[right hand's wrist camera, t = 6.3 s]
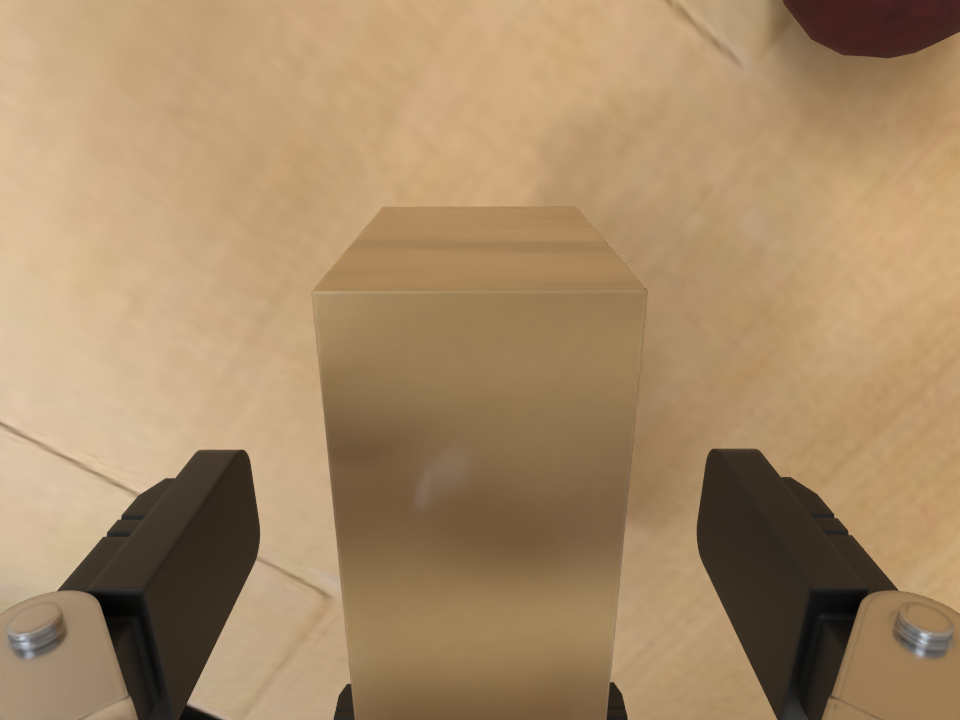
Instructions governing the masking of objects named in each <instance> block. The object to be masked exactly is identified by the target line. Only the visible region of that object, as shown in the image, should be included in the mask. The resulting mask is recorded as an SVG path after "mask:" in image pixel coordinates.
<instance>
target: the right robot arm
mask: <svg viewBox="0 0 960 720" xmlns="http://www.w3.org/2000/svg"><path fill="white" fill-rule="evenodd" d="M259 542H260V525H259V518H258V511H257V504H256V497H255V491H254V484H253V477H252V470H251V464H250V459H249V456H248V454H247V453H246V451H244V450H199V451H197V452H196V453H195V454H194V456H193V457H192V458H191V459H190V461H189V462H188V463H187V464H186V466H185V467H184V468H183V469H182V471H181V472H180V473H179V474H178V476H177V477H176V478H166V479H164V480H162V481H161V482H159V483H158V484H156V485H155V486H153V487H151V488H150V489H148V490H147V491H145V492H144V493H142V494H140V495H139V496H138V497H137V498H136V499H135V501H134V502H133V503H132V504H131V505H130V506H129V508H128V509H127V510H126V511H125V512H124V513H123V515H122V518H121V520H117V522H116V523H115V524H114V525H113V526H112V527H111V529H110V530H109V531H108V532H107V537H103V538H102V539H101V540H100V541H99V543H98V544H97V545H96V546H95V547H94V548H93V550H92V551H91V552H90V553H89V554H88V556H87V557H86V558H85V559H84V560H83V561H82V563H81V564H80V565H79V566H78V567H77V568H76V570H75V571H74V572H73V573H72V574H71V575H70V577H69V578H68V579H67V580H66V581H65V582H64V584H63V585H62V586H61V587H60V588H59V589H58V591H57V592H51V593H47V594H42V595H39V596H36V597H33V598H30V599H28V600H25V601H23V602H20V603H18V604H16V605H14V606H12V607H11V608H9V609H7V610H6V611H4V612H2V613H1V614H0V720H179V718H180V716H181V714H182V712H183V710H184V708H185V706H186V704H187V702H188V700H189V698H190V696H191V693H192V691H193V689H194V687H195V685H196V683H197V681H198V679H199V677H200V675H201V673H202V671H203V669H204V667H205V664H206V662H207V660H208V658H209V656H210V654H211V652H212V650H213V648H214V646H215V644H216V642H217V640H218V638H219V635H220V633H221V631H222V629H223V627H224V625H225V623H226V621H227V619H228V617H229V615H230V613H231V611H232V609H233V607H234V604H235V602H236V600H237V598H238V596H239V594H240V592H241V590H242V588H243V586H244V584H245V582H246V580H247V578H248V575H249V573H250V571H251V569H252V567H253V565H254V563H255V560H256V557H257V554H258V549H259ZM697 543H698V549H699V554H700V557H701V560H702V562H703V565H704V567H705V569H706V571H707V573H708V575H709V577H710V579H711V581H712V583H713V586H714V588H715V590H716V592H717V594H718V596H719V598H720V600H721V602H722V604H723V606H724V609H725V611H726V613H727V615H728V617H729V619H730V621H731V623H732V625H733V627H734V630H735V632H736V634H737V636H738V638H739V640H740V642H741V644H742V646H743V648H744V651H745V653H746V655H747V657H748V659H749V661H750V663H751V665H752V667H753V669H754V671H755V674H756V676H757V678H758V680H759V682H760V684H761V686H762V688H763V690H764V692H765V695H766V697H767V699H768V701H769V703H770V705H771V707H772V709H773V711H774V713H775V715H776V718H777V720H960V614H959V613H958V612H956V611H954V610H953V609H951V608H949V607H947V606H946V605H944V604H942V603H940V602H937V601H935V600H932V599H930V598H927V597H924V596H921V595H918V594H913V593H909V592H903V591H899V590H898V589H897V588H896V587H895V586H894V584H893V583H892V582H891V581H890V580H889V579H888V577H887V576H886V575H885V574H884V573H883V571H882V570H881V569H880V568H879V567H878V566H877V564H876V563H875V562H874V561H873V560H872V558H871V557H870V556H869V555H868V554H867V553H866V551H865V550H864V549H863V548H862V547H861V546H860V544H859V543H858V542H857V541H856V540H855V538H854V537H853V536H852V535H848V530H847V529H846V528H845V527H844V525H843V524H842V523H841V522H840V521H839V520H838V518H834V514H833V512H832V511H831V510H830V509H829V508H828V507H827V505H826V504H825V503H824V502H823V501H822V499H821V498H820V497H819V496H818V495H817V494H816V493H814V492H813V491H811V490H810V489H808V488H806V487H805V486H803V485H802V484H800V483H799V482H797V481H796V480H794V479H792V478H791V477H780V476H779V474H778V473H777V472H776V471H775V469H774V468H773V467H772V466H771V464H770V463H769V462H768V461H767V459H766V458H765V457H764V455H763V454H762V453H761V452H760V451H759V450H758V449H712V450H711V451H710V452H709V454H708V457H707V460H706V466H705V473H704V480H703V487H702V494H701V501H700V507H699V514H698V521H697Z"/></svg>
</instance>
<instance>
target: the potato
mask: <svg viewBox="0 0 960 720" xmlns="http://www.w3.org/2000/svg"><path fill="white" fill-rule="evenodd" d="M783 2H784V4H785V6H786V7H787V8H788V10H789V11H790V12H791V13H792V15H793V16H794V17H795V18H796V20H797V21H798V22H799V24H800V25H801V26H802V28H803V29H804V30H805V31H806V33H807V34H808V35H809V37H810V38H811V39H812V40H814V41H816V42H818V43H820V44H822V45H824V46H826V47H828V48H830V49H832V50H834V51H836V52H838V53H840V54H842V55H852V56H870V57H881V58H892V57H897V56H902V55H906V54H911V53H915V52H918V51H920V50H922V49H924V48H926V47H929V46H931V45H933V44H935V43H937V42H939V41H941V40H943V39H945V38H948V37H950V36H952V35H954V34H956V33H958V32H960V0H783Z"/></svg>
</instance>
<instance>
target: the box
mask: <svg viewBox="0 0 960 720" xmlns="http://www.w3.org/2000/svg"><path fill="white" fill-rule="evenodd" d="M647 294H648V292H647V289H646V288H645V287H644V286H643V285H642V284H641V282H640V281H639V280H638V279H637V278H636V277H635V275H634V274H633V273H632V272H631V271H630V270H629V268H628V267H627V266H626V265H625V264H624V263H623V261H622V260H621V259H620V258H619V257H618V256H617V254H616V253H615V252H614V251H613V250H612V249H611V247H610V246H609V245H608V244H607V243H606V242H605V240H604V239H603V238H602V237H601V236H600V235H599V233H598V232H597V231H596V230H595V229H594V228H593V226H592V225H591V224H590V223H589V222H588V221H587V219H586V218H585V217H584V216H583V215H582V214H581V212H580V211H579V210H578V209H577V208H576V207H383V208H382V209H381V210H380V211H379V212H378V214H377V215H376V216H375V217H374V218H373V219H372V221H371V222H370V223H369V224H368V225H367V227H366V228H365V229H364V230H363V231H362V233H361V234H360V235H359V236H358V237H357V238H356V240H355V241H354V242H353V243H352V244H351V246H350V247H349V248H348V249H347V250H346V251H345V253H344V254H343V255H342V256H341V257H340V259H339V260H338V261H337V262H336V263H335V264H334V266H333V267H332V268H331V269H330V270H329V272H328V273H327V274H326V275H325V276H324V278H323V279H322V280H321V281H320V282H319V283H318V285H317V286H316V287H315V288H314V289H313V291H312V301H313V311H314V321H315V331H316V341H317V351H318V361H319V371H320V380H321V390H322V400H323V410H324V420H325V430H326V440H327V450H328V460H329V470H330V479H331V489H332V499H333V509H334V519H335V529H336V539H337V549H338V559H339V569H340V578H341V588H342V598H343V608H344V618H345V628H346V638H347V648H348V658H349V668H350V677H351V687H352V697H353V707H354V717H355V720H606V718H607V708H608V698H609V687H610V677H611V666H612V656H613V646H614V635H615V625H616V615H617V604H618V594H619V584H620V573H621V563H622V553H623V542H624V532H625V521H626V511H627V501H628V490H629V480H630V470H631V459H632V449H633V439H634V428H635V418H636V407H637V397H638V387H639V376H640V366H641V356H642V345H643V335H644V325H645V314H646V304H647Z"/></svg>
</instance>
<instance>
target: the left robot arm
mask: <svg viewBox="0 0 960 720" xmlns="http://www.w3.org/2000/svg"><path fill="white" fill-rule="evenodd" d="M334 720H355V717H354V707H353V697H352V687H351V684H347V685H346V686H345V688H344V689H343V691H342V692H341V694H340V695H339V698H338V702H337V707H336V711H335V715H334ZM606 720H628V719H627V714H626V709H625V705H624V701H623V697H622V693H621V692H620V691H619V689H618V688H617V686H616V685H615V684H614V682H610V687H609V698H608V708H607V718H606Z"/></svg>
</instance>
